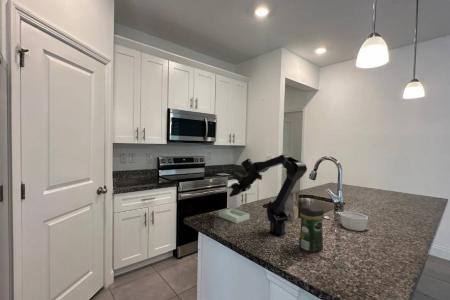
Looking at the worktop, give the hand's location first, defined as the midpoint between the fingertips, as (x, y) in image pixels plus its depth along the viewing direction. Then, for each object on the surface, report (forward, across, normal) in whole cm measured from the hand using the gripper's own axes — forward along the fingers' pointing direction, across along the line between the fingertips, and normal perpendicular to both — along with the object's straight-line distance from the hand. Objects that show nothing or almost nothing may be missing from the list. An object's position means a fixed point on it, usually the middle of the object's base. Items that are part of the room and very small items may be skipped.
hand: (232, 195), depth 128 cm
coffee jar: (-23, +17, +42) cm, 51 cm away
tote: (+9, 0, +11) cm, 14 cm away
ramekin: (-36, -22, +56) cm, 70 cm away
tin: (+4, 0, +6) cm, 7 cm away
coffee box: (-12, -18, +32) cm, 39 cm away
